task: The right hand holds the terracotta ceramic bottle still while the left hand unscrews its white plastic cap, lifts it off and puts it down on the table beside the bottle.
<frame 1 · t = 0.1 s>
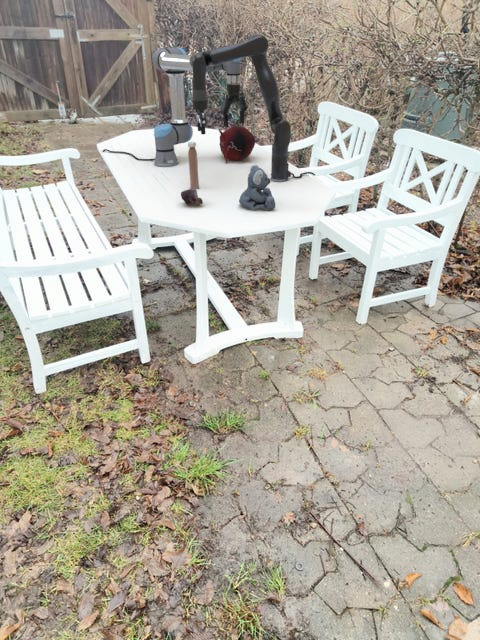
left hand: (234, 125, 259), 28 cm above the table, tool pointing down, fingers open, 13 cm apart
right hand: (201, 132, 238), 29 cm above the table, tool pointing down, fingers open, 8 cm apart
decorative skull: (236, 158, 303), on the table
rock: (191, 204, 231), on the table
bottle: (194, 187, 254), on the table
koala plush: (256, 206, 229), on the table
cap: (191, 143, 240), point 24 cm above the table, screwed on, not yet turned
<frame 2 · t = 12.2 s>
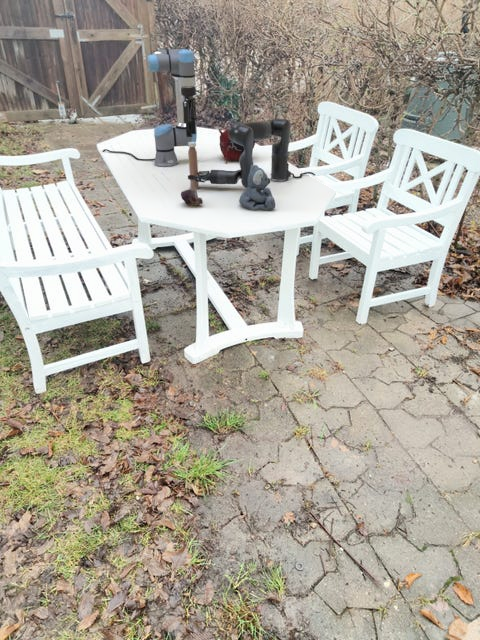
left hand: (191, 135, 238), 28 cm above the table, tool pointing down, fingers open, 6 cm apart
right hand: (189, 175, 250), 7 cm above the table, tool horizontal, fingers closed on bottle, 4 cm apart
bottle: (194, 187, 254), on the table, touching right hand
everything else where it was.
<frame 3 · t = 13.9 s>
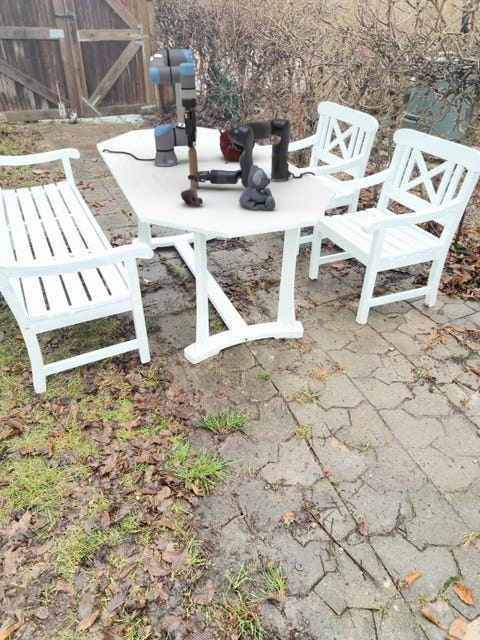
left hand: (192, 146, 241), 23 cm above the table, tool pointing down, fingers closed on cap, 4 cm apart
right hand: (189, 175, 250), 7 cm above the table, tool horizontal, fingers closed on bottle, 4 cm apart
bottle: (194, 187, 254), on the table, touching right hand
cap: (191, 143, 240), point 24 cm above the table, screwed on, not yet turned, touching left hand
everything else where it was.
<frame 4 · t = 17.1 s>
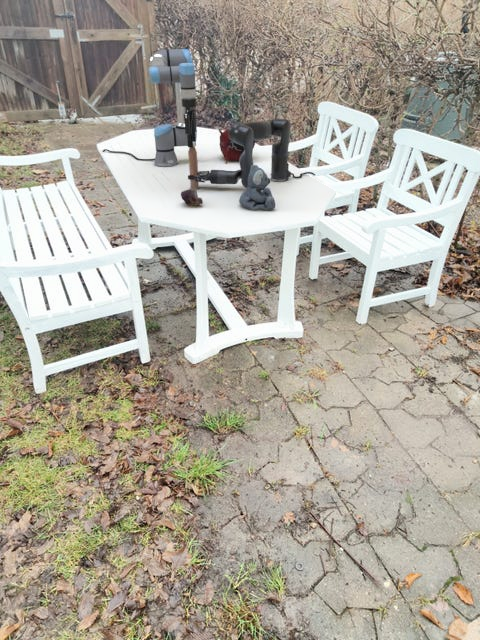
left hand: (192, 146, 241), 23 cm above the table, tool pointing down, fingers closed on cap, 4 cm apart
right hand: (189, 175, 250), 7 cm above the table, tool horizontal, fingers closed on bottle, 4 cm apart
bottle: (194, 187, 254), on the table, touching right hand
cap: (191, 143, 240), point 24 cm above the table, turned 106° so far, risen 0.1 cm, still on its thread, touching left hand
everything else where it was.
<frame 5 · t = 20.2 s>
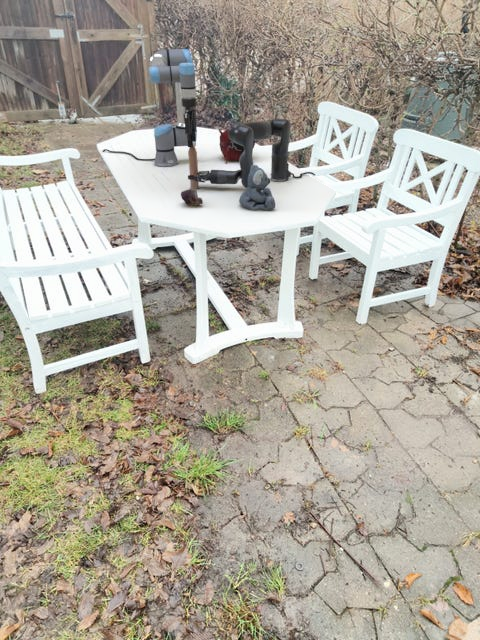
left hand: (192, 145, 241), 23 cm above the table, tool pointing down, fingers closed on cap, 4 cm apart
right hand: (189, 175, 250), 7 cm above the table, tool horizontal, fingers closed on bottle, 4 cm apart
bottle: (194, 187, 254), on the table, touching right hand
cap: (191, 142, 240), point 24 cm above the table, turned 211° so far, risen 0.2 cm, still on its thread, touching left hand
everything else where it was.
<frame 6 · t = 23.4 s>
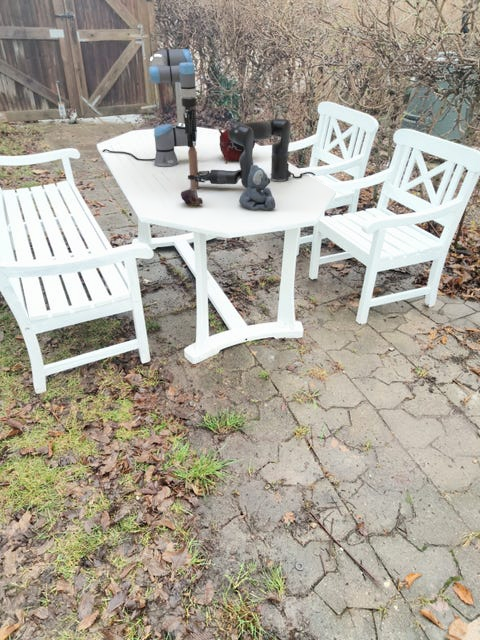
left hand: (192, 145, 241), 23 cm above the table, tool pointing down, fingers closed on cap, 4 cm apart
right hand: (189, 175, 250), 7 cm above the table, tool horizontal, fingers closed on bottle, 4 cm apart
bottle: (194, 187, 254), on the table, touching right hand
cap: (191, 142, 240), point 24 cm above the table, turned 317° so far, risen 0.3 cm, still on its thread, touching left hand
everything else where it was.
when the left hand's fingers open (2 cm above the table, at t = 30.7 s): cap drops 2 cm, point 1 cm above the table.
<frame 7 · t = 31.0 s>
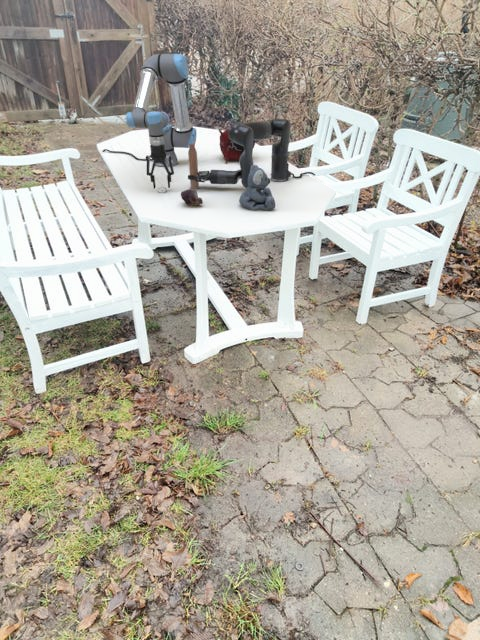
left hand: (161, 187, 248), 2 cm above the table, tool pointing down, fingers open, 7 cm apart
right hand: (189, 175, 250), 7 cm above the table, tool horizontal, fingers closed on bottle, 4 cm apart
bottle: (194, 187, 254), on the table, touching right hand
cap: (162, 188, 248), point 1 cm above the table, off its thread
everything else where it was.
when the right hand's fingers open (7 cm above the table, at t = 32.0 s): bottle stays where it is, on the table.
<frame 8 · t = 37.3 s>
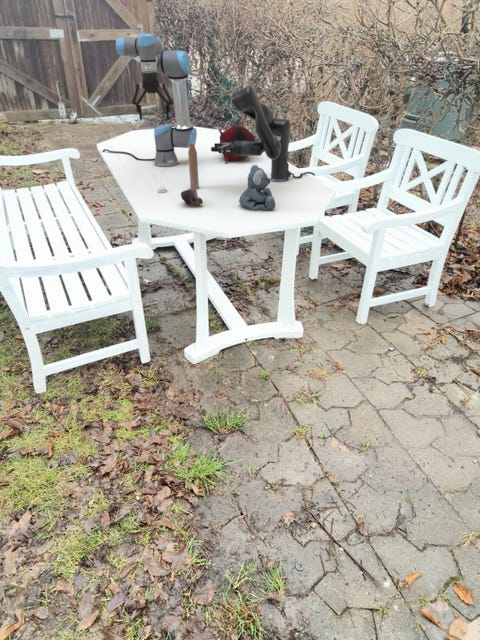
left hand: (154, 119, 228), 37 cm above the table, tool pointing down, fingers open, 13 cm apart
right hand: (212, 147, 239), 22 cm above the table, tool horizontal, fingers open, 8 cm apart
bottle: (194, 187, 254), on the table
everything else where it was.
at the end: cap came off its thread; cap point 1.5 cm above the table; the left hand is holding nothing; the right hand is holding nothing; bottle tilted 0°; bottle moved 0.0 cm from its start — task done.
